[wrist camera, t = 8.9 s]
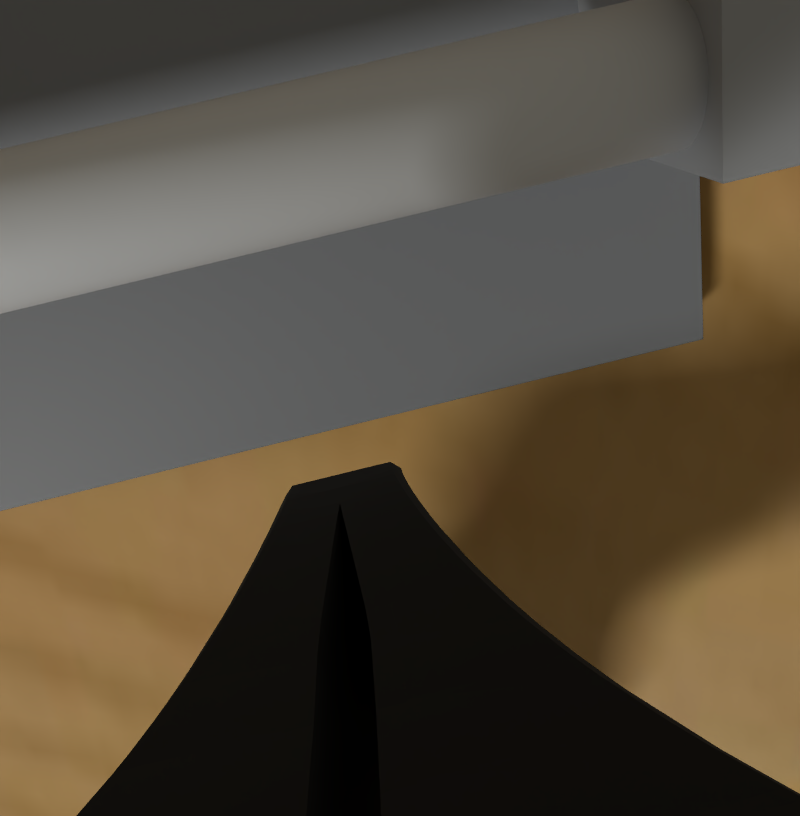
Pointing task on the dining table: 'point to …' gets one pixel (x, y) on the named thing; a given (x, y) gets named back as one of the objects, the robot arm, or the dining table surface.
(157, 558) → the dining table surface
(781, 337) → the dining table surface
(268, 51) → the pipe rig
